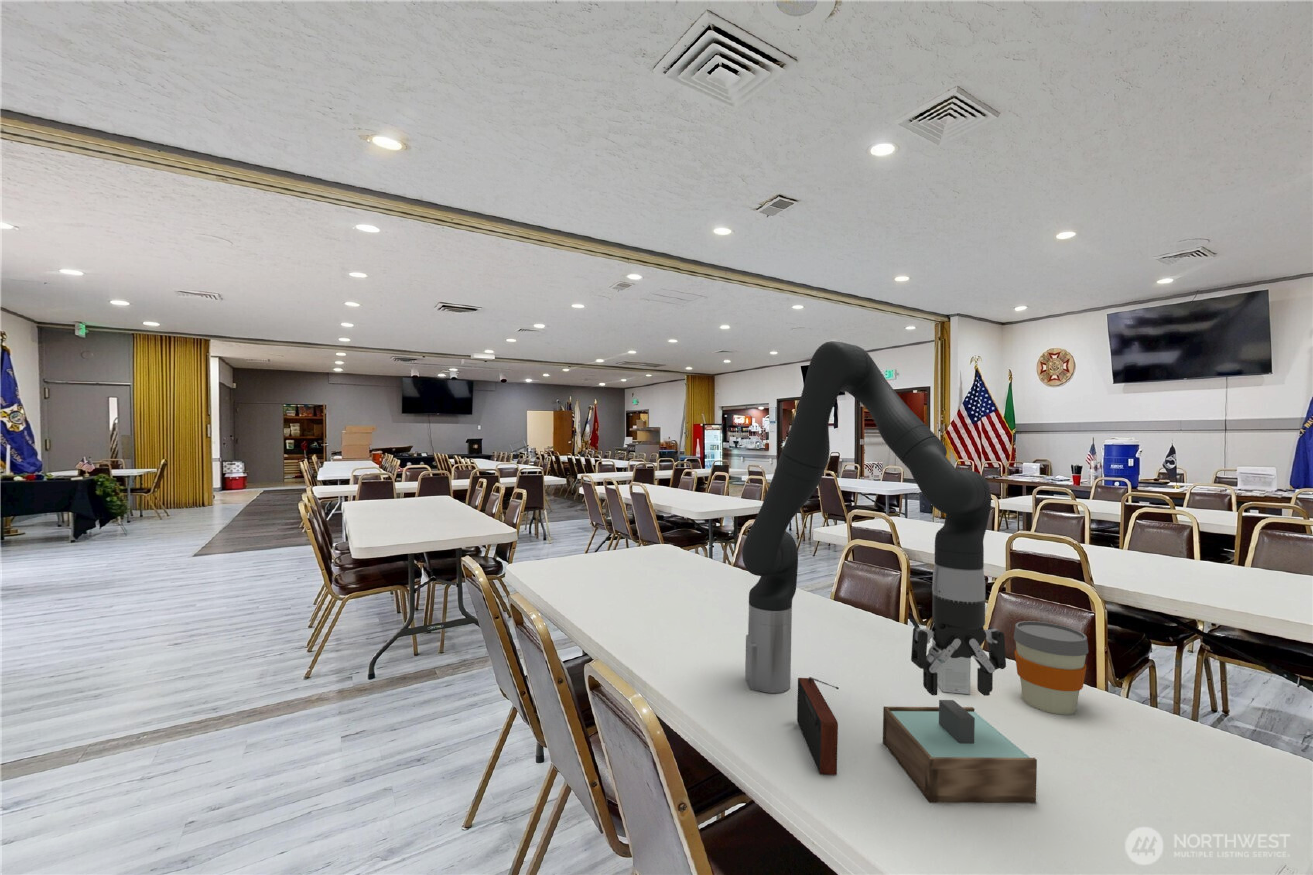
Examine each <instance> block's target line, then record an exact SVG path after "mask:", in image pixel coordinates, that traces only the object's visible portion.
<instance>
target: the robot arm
mask: <svg viewBox="0 0 1313 875" xmlns="http://www.w3.org/2000/svg"><path fill="white" fill-rule="evenodd" d="M807 368H808V369H807V371H806V376H805V380H804V384H803V388H802V392H801V395H800V399H799V403H798V405H797V406H798V407H797V410H796V412H795V414H794V417H793V420H792V424H791V427H790V430H789V432H788V435H787V438H786V440H785V443H784V445H783V447H782V449H781V452H780V455H779V458H778V460H777V464H776V466H775V470H774V472H773V476H772V478H771V481H770V484H769V487H768V489H767V491H766V494H765V496H764V498H763V502H762V504H761V507H760V509H759V511H758V513H757V515H756V517H755V519H754V521H753V523H752V525H751V527H750V529H749V531H748V533H747V535H746V537H745V539H744V542H743V544H742V551H741V553H742V554H741V557H742V558H741V559H742V562H743V564H744V567H745V569H746V571H747V572H749V573H750V574H751V575H753V576H757V577H759V580H758V581H757V582H756V583H755V585H753V587H751V589H749V591H748V592H749V593H748V619H747V620H748V624H747V625H748V627H747V629H748V630H747V634H746V635H745V670H744V671H745V672H744V676H745V677H744V678H745V681H746V683H747V685H748V688H749V689H750V690H755V691H758V692H763V693H769V694H777V693H784V692H787V691H788V690H790V688H791V679H792V674H791V672H792V670H791V668H792V666H791V665H792V625H793V624H792V623H793V622H792V621H793V620H792V619H793V599H794V597H795V594H796V592H797V585H798V569H799V551H798V546H797V542H796V540H795V539H794V537H793V535H792V534H791V533H789V532H788V531H787V529H788V526H789V525H790V523H791V521H792V520H793V518H794V517H796V516H795V515H797V514H798V512H799V511H800V510H801V509H802V508H803V507H804V505H806V503H807V502H808V501H809V500H810V498H812V496H813V494H814V493H815V492H816V490H817V488H818V487H819V485H820V483H821V480H822V478H823V475H824V473H825V470H826V468H827V465H828V463H829V459H830V452H831V451H830V450H831V447H830V445H831V444H830V432H829V429H830V428H829V424H830V418H831V413H832V410H833V408H834V406H835V403H836V401H837V399H838V396H839V394H840V393H841V392H843V393H845V392H846V393H847V394H849V395H851V396H852V397H853V398H854V399H856V400H857V401H858V402H859V403H860V404H862V405H863V406H864V408H865V409H866V410H867V411H868V412H869V414H870V416H871V417H872V419H873V421H874V423H875V426H876V429H877V430H878V432H879V435H880V436H881V438H882V440H883V441H884V443H885V444H886V445H887V447H888V448H889V449H890V450H891V452H892V453H893V454H894V455H895V456H896V457H897V458H898V460H900V462H902V463H903V465H904V466H905V467H906V468H907V469H908V471H910V473H911V474H910V475H911V476H912V478H913V480H914V481H915V483H916V486H917V487H918V489H919V490H920V492H921V493H922V495H923V497H924V498H925V499H926V500H927V502H928V503H929V504H930V505H931V506H932V507H933V508H934V509H936V510H937V511H939V512H941V513H943V514H945V519H944V524H943V526H941V528H940V529H939V530H938V531H937V532H935V537H934V567H933V573H932V584H931V585H932V586H931V590H932V621H933V623H932V624H933V625H932V627H931V629H924V628H921V627H919V626H914V627H913V630H912V642H911V652H910V653H911V656H910V660H911V662H912V663H913V664H915V666H916V667H918V668H919V669H921V670H923V671H922V672H923V674H922V675H923V676H922V677H923V680H922V681H923V682H922V685H923V688H924V689H925V691H927V693H928V694H930V695H931V696H938V684H937V679H938V673H936V671H937V670H938V668H939V667H940V666H941V664H942V663H945V662H946V661H947V660H948V658H949V657H951V658H959V657H964V658H972V657H973V659H974V660H975V662H976V664H978V666H979V667H977V676H976V677H977V678H976V680H977V683H976V684H977V685H976V687H977V691H978V693H980V694H981V695H983V697H985V696H986V697H987V696H990V695H991V693H992V691H993V688H994V687H993V686H994V684H993V681H994V680H993V675H994V673H995V671H996V670H999V669H1000V670H1004V669H1005V668H1006V667H1007V657H1006V642H1005V639H1006V638H1005V634H1004V632H1002V631H1000V630H999V629H997V628H995V627H993V626H989V627H988V629H985V628H984V627H985V625H986V578H985V571H984V565H985V564H984V563H985V562H984V557H985V556H984V552H985V551H984V549H985V548H984V539H985V535H986V532H987V527H988V522H989V518H990V514H991V508H992V492H991V491H992V490H991V488H990V485H989V482H988V481H987V479H986V478H985V477H984V476H983V475H982V474H980V473H978V472H977V471H975V470H965V469H964V470H958V469H957V468H956V467H955V466H954V464H952V462H951V461H950V460H949V459H948V457H947V453H948V452H947V447H946V446H945V444H944V443H943V442H942V441H941V439H940V438H939V437H938V436H937V435H936V434H935V433H934V431H932V430H931V429H930V428H929V426H927V424H926V423H924V421H922V420H921V419H920V418H919V417H918V416H917V415H916V414H915V413H914V412H913V411H912V410H911V409H910V408H909V406H908V404H906V403H905V401H904V400H903V399H902V398H901V397H900V396H899V394H897V392H896V391H895V389H894V388H893V387H892V385H891V383H889V382H888V380H887V379H886V378H885V376H884V375H883V373H882V371H881V370H880V368H879V367H878V364H876V362H875V361H874V359H873V357H872V356H870V354H869V353H868V351H866V350H865V349H864V348H862V347H860V346H858V345H855V344H851V343H847V342H843V341H838V340H829V341H827V342H824V343H822V344H820V346H818V347H817V349H816V350H815V352H814V353H813V355H812V357H811V359H810V361H809V365H808V367H807ZM932 638H933V639H934V641H935V642H934V643H933V645H932V644H931V646H930V648H929V649H928V644H930V643H931V640H932ZM985 641H987V643H988V645H987V646H988V655H987V654H986V652H985V651H984V649H982V645H983V643H984V642H985ZM940 649H941V651H942V652H941V653H939V651H940ZM927 651H928V652H927Z"/></svg>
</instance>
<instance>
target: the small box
mask: <svg viewBox="0 0 1313 875" xmlns="http://www.w3.org/2000/svg"><path fill="white" fill-rule="evenodd" d="M934 642H935V641H934V639H933V638H931V646H932V645H933V643H934ZM941 652H942V651H941V649H940V651H939V653H941ZM971 658H972V657H971ZM971 658H964V657H959V658H951V657H949V658H948V660H947V661H946V662H945V663H942V664H941V666H940V667H939V668H938V670H937V671H936V673H938V679H937V687H939V689H940V690H941V692H943V693H952V694H962V695H971Z"/></svg>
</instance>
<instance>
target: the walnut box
mask: <svg viewBox="0 0 1313 875" xmlns="http://www.w3.org/2000/svg"><path fill="white" fill-rule="evenodd" d="M961 707H962V708H963V709H965V710H966V711H967V712H975V708H974V707H973V706H961ZM891 711H939V706H883V711H882V713H883V714H882V717H883V718H882V744H883V746H884V747H885V748H886V749H887V750H888V752H889V753H890V754H891V756H893V758H894V759H895V760H896V761H897V763H898V764H899V766H900V767H901V768H902V770H904V772H905V773H906V775H907V776H908V777H909V779H911V781H912V782H913V783H914V785H916V787H917V788H918V790H919V791H920V792H921V793H922V794H923V796H924V797H925V799H926V800H927V801H928V803H935V804H936V803H938V804H939V803H941V804H943V803H945V804H946V803H949V804H951V803H952V804H953V803H955V804H956V803H964V804H965V803H974V804H976V803H977V804H979V803H981V804H983V803H984V804H985V803H988V804H989V803H990V804H993V803H994V804H996V803H999V804H1003V803H1004V804H1013V803H1015V804H1016V803H1018V804H1021V803H1022V804H1028V803H1029V804H1036V803H1037V777H1038V776H1037V775H1038V774H1037V773H1038V771H1037V770H1038V769H1037V768H1038V766H1037V764H1038V760H1037V758H1036V757H1030V758H982V757H931V756H930V754H929V753H928V752H927V751H926V750H925V749H924V748H923V747H922V746H921V745H920V743H919V742H918V741H917V740H916V739H915V738H914V737H913V736H912V735H911V733H910V732H909V731H908V730H907V729H906V728H905V727H904V726H903V725H902V723H901V722H900V721H899V720H898V719H897V718H896V717H895V716H894V715H893V714H892V712H891Z"/></svg>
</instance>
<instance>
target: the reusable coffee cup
mask: <svg viewBox="0 0 1313 875" xmlns="http://www.w3.org/2000/svg"><path fill="white" fill-rule="evenodd" d="M1013 640H1014V641H1015V646H1016V647H1015V648H1016V649H1015V650H1014V656H1015V658H1014V659H1015V665H1016V672H1017V676H1019V679H1020V680H1019V681H1020V685H1021V686H1020V687H1021V695H1022V700H1023V701H1024V702H1025V703H1026V704H1027V705H1029V706H1031V707H1033V708H1034V709H1037V710H1040V711H1043V712H1047V713H1050V714H1055V715H1064V716H1065V715H1068V716H1069V715H1072V714H1075V713H1076V712H1077V706H1078V701H1079V696H1080V690H1082V689H1083V688H1084V684H1085V678H1086V672H1087V668H1088V667H1087V663H1085V662H1086V658H1087V655H1088V654H1089V643H1088V637H1087V635H1086V634H1085V633H1083V632H1081V631H1079V630H1077V629H1075V628H1072V627H1069V626H1064V625H1060V624H1055V623H1052V622H1045V621H1037V620H1023V621H1019V622H1016V623H1015V626H1014V634H1013Z"/></svg>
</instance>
